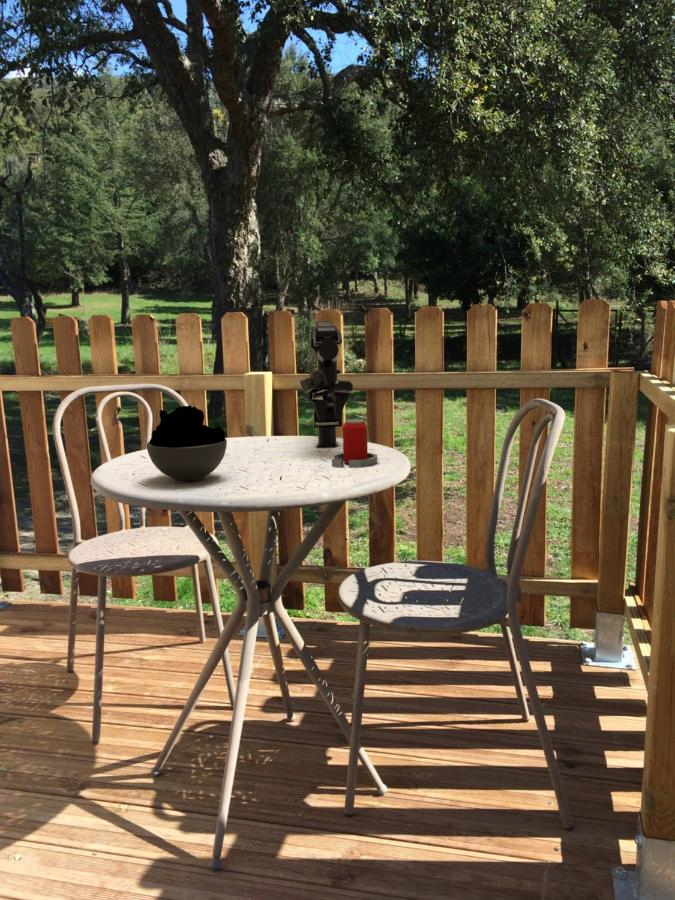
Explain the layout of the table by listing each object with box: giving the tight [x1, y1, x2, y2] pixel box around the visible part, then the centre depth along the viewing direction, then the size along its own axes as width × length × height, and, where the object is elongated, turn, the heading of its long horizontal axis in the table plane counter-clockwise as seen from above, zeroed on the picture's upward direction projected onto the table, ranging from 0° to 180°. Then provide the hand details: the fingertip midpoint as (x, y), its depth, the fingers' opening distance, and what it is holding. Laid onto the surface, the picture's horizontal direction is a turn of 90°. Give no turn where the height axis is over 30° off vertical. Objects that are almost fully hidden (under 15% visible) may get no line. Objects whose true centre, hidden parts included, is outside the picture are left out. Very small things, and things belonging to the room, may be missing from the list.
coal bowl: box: [146, 405, 228, 482], centre depth 192 cm, size 20×20×19 cm
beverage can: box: [342, 418, 369, 465], centre depth 210 cm, size 7×7×12 cm
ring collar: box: [331, 452, 378, 469], centre depth 211 cm, size 12×12×2 cm
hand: (329, 420), depth 221 cm, fingers open, 9 cm apart
